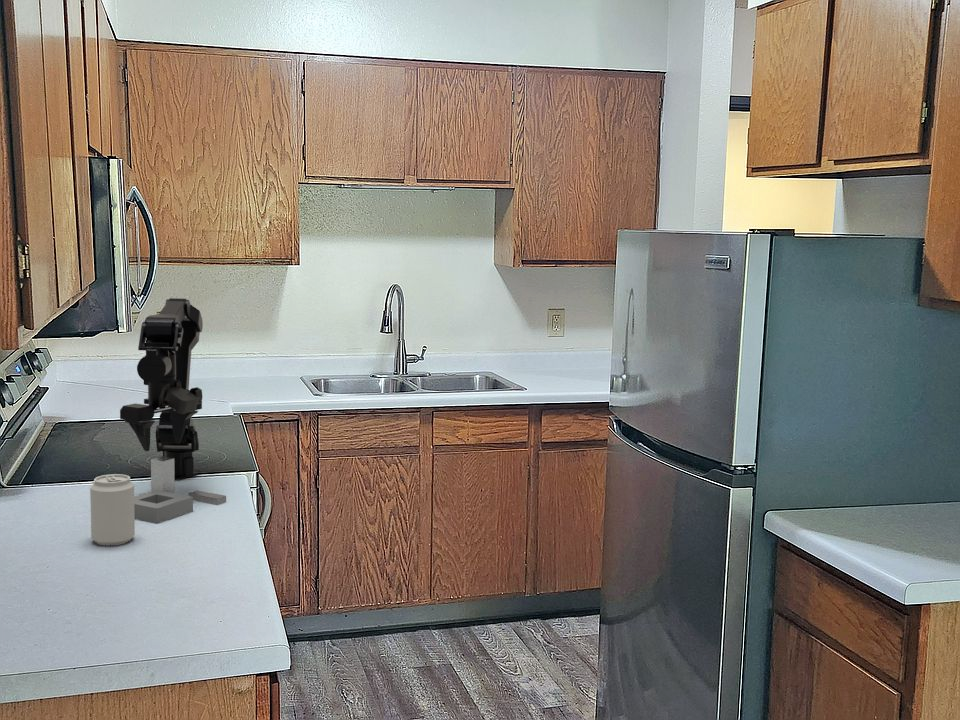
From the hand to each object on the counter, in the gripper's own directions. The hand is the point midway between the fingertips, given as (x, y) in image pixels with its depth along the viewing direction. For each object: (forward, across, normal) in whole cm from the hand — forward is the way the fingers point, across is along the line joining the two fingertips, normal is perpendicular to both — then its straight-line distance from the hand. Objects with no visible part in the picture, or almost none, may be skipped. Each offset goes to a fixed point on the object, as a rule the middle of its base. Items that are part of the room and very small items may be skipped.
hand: (162, 446), depth 208 cm
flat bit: (+11, +1, -11) cm, 16 cm away
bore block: (+10, -11, -9) cm, 18 cm away
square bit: (+11, 0, 0) cm, 11 cm away
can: (+11, -28, -15) cm, 34 cm away
